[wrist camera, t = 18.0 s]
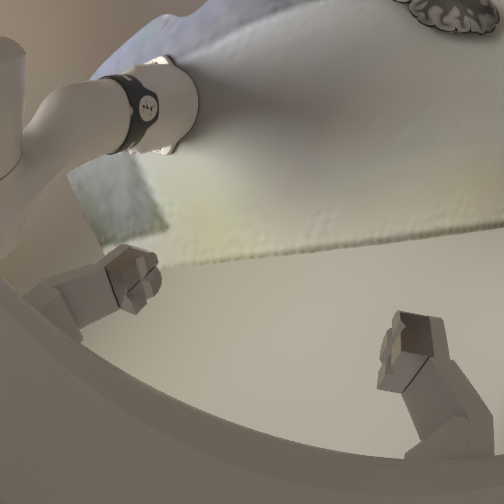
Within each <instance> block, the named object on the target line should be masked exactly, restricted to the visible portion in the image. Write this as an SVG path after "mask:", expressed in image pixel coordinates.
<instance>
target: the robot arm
mask: <svg viewBox="0 0 504 504" xmlns="http://www.w3.org/2000/svg"><path fill="white" fill-rule="evenodd" d="M157 63H158V64H157ZM25 99H26V52H25V51H24V49H23V48H22V47H21V45H20V44H19V43H17V42H16V41H14V40H12V39H10V38H8V37H4V36H0V259H2V258H4V257H5V256H6V255H7V254H9V253H10V252H11V251H12V250H13V248H14V247H15V245H16V244H17V242H18V240H19V238H20V235H21V232H22V229H23V226H24V224H25V222H26V220H27V218H28V216H29V214H30V213H31V211H32V210H33V208H34V207H35V205H36V204H37V203H38V202H39V200H40V199H41V198H42V197H43V196H44V194H45V193H46V192H47V191H48V190H49V189H50V188H51V187H52V186H53V185H54V184H55V183H56V182H57V181H58V180H59V179H60V178H62V177H63V176H64V175H65V174H67V173H68V172H69V171H71V170H72V169H74V168H76V167H78V166H80V165H82V164H84V163H86V162H88V161H90V160H93V159H95V158H97V157H100V156H102V155H105V154H107V155H112V154H117V153H125V152H128V151H129V153H130V154H136V153H137V154H143V153H147V152H153V153H157V154H161V155H169V154H171V153H172V151H173V150H174V148H175V146H176V143H177V142H178V141H179V140H180V139H181V138H182V137H184V136H185V135H186V134H187V133H188V132H189V130H190V129H191V127H192V126H193V124H194V122H195V119H196V116H197V112H198V94H197V90H196V87H195V85H194V83H193V81H192V79H191V78H190V77H189V76H188V75H187V74H186V73H185V72H184V71H182V70H181V69H179V68H177V67H176V66H174V64H173V63H172V61H171V60H170V59H169V57H167V56H159V57H157V58H155V59H152V60H150V61H148V62H146V63H144V64H141V65H133V66H132V68H130V69H128V70H126V71H125V72H123V73H122V74H112V75H110V76H104V77H102V78H100V79H98V80H90V81H83V82H77V83H70V84H66V85H63V86H61V87H59V88H57V89H55V90H54V91H53V92H51V93H50V94H49V95H48V96H47V97H46V98H45V99H44V101H43V102H42V104H41V105H40V107H39V108H38V110H37V112H36V114H35V115H34V117H33V119H32V120H31V122H30V123H29V124H28V125H27V126H26V127H25V129H24V130H23V116H24V107H25ZM22 130H23V131H22ZM161 148H162V149H161ZM157 264H158V259H157V255H156V254H155V253H153V252H151V251H147V250H144V249H141V248H137V247H133V246H130V245H127V244H121V245H119V246H118V247H117V248H115V249H114V250H112V251H111V252H110V253H108V254H107V255H106V256H104V257H103V258H102V259H100V260H99V261H98V262H97V263H95V264H89V265H86V266H82V267H79V268H76V269H73V270H70V271H67V272H64V273H61V274H57V275H55V276H52V277H48V278H46V279H43V280H42V281H40V282H39V283H38V284H37V285H35V286H34V287H33V288H32V289H31V290H30V291H28V292H27V293H26V294H25V295H23V296H21V295H20V294H19V293H18V292H16V291H15V290H14V289H13V288H12V287H11V286H10V285H9V284H8V283H7V282H6V281H5V280H4V279H3V278H2V277H1V276H0V504H504V454H502V455H496V456H494V428H493V416H492V414H491V412H490V411H489V409H488V408H487V406H486V405H485V403H484V402H483V400H482V399H481V397H480V396H479V394H478V393H477V391H476V390H475V389H474V387H473V386H472V384H471V383H470V382H469V380H468V379H467V378H466V376H465V375H464V373H463V372H462V371H461V369H460V368H459V366H458V365H457V364H456V363H455V361H454V360H450V357H449V350H448V344H447V338H446V332H445V327H444V322H443V320H442V318H438V317H433V316H424V315H419V314H414V313H409V312H403V311H397V312H396V313H395V315H394V317H393V319H392V328H390V329H389V330H387V332H386V334H385V337H384V339H383V343H382V346H381V351H380V361H381V362H382V366H381V368H380V370H379V373H378V383H377V389H380V390H385V391H390V392H396V393H401V394H402V397H403V400H404V402H405V404H406V406H407V408H408V411H409V413H410V416H411V418H412V420H413V423H414V425H415V428H416V430H417V433H418V435H419V438H420V440H421V442H420V443H419V444H417V445H416V446H414V447H413V448H412V449H410V450H409V451H408V452H406V453H405V457H404V459H395V458H383V457H374V456H366V455H358V454H352V453H345V452H339V451H334V450H329V449H324V448H319V447H314V446H310V445H305V444H301V443H297V442H294V441H290V440H286V439H282V438H279V437H275V436H272V435H269V434H265V433H262V432H259V431H255V430H253V429H250V428H247V427H244V426H241V425H238V424H235V423H233V422H230V421H227V420H225V419H222V418H219V417H217V416H214V415H212V414H209V413H207V412H205V411H202V410H200V409H198V408H195V407H192V406H190V405H188V404H186V403H184V402H182V401H180V400H178V399H176V398H173V397H171V396H169V395H167V394H165V393H163V392H161V391H159V390H157V389H155V388H153V387H152V386H150V385H148V384H146V383H144V382H142V381H140V380H138V379H136V378H135V377H133V376H131V375H130V374H128V373H126V372H124V371H123V370H121V369H119V368H118V367H116V366H114V365H113V364H111V363H110V362H108V361H106V360H105V359H103V358H102V357H100V356H99V355H97V354H96V353H94V352H93V351H91V350H90V349H88V348H87V347H85V346H84V345H82V344H81V342H82V341H83V336H82V334H81V332H80V330H79V329H81V328H83V327H85V326H87V325H89V324H91V323H93V322H95V321H97V320H99V319H101V318H103V317H105V316H107V315H109V314H111V313H113V312H115V311H117V310H119V308H120V309H122V310H125V311H127V312H129V313H132V314H134V315H137V313H138V312H139V311H140V310H141V309H142V308H143V307H144V306H145V305H146V304H147V299H149V298H151V297H154V296H155V295H156V293H158V291H159V289H160V287H161V282H162V277H161V273H160V271H159V270H158V268H157V267H156V266H157Z"/></svg>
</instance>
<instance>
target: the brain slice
mask: <svg viewBox="0 0 504 504" xmlns="http://www.w3.org/2000/svg"><path fill="white" fill-rule="evenodd" d="M393 1H395V2H399V3H407V2H410V3H409V12H410V13H411V14H412V16H414V17H415V18H416V19H417V20H418V21H419V22H420V23H421V24H423V25H425V26H428V27H437V28H438V29H439V30H441V31H444V32H450V33H452V32H458V33H463V34H466V33H472V34H475V33H477V34H480V35H484V34H486V33H491V32H493V30H494V29H495V28H496V25H497V24H498V23H499V21H500V17H499V13H498V11H497V9H496V7H495V6H494V5H493V4H492V2H491V1H490V0H393Z"/></svg>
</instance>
